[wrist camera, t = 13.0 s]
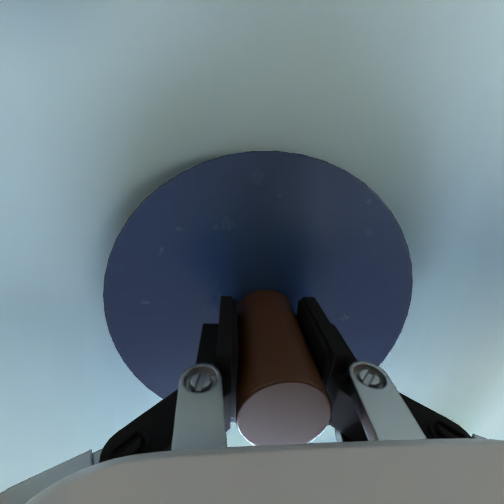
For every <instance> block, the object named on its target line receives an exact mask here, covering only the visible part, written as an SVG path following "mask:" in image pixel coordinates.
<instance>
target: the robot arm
mask: <svg viewBox="0 0 504 504" xmlns="http://www.w3.org/2000/svg"><path fill="white" fill-rule="evenodd" d="M296 317H297V319H298V322H299V324H300V327H301V329H302V332H303V334H304V336H305V339H306V341H307V344H308V346H309V349H310V351H311V353H312V356H313V358H314V361H315V363H316V366H317V368H318V370H319V373H320V375H321V378H322V380H323V383H324V385H325V387H326V390H327V392H328V395H329V397H330V400H331V403H332V416H331V419H330V422H329V424H328V425H331V426H332V427H334V428H335V436H336V440H337V442H332V443H309V444H286V445H265V446H244V447H227V438H226V432H227V431H228V430H229V429H230V419H234V418H235V417H236V386H237V374H238V331H237V301H236V299H232V296H221V301H220V313H219V323H203V326H202V332H201V337H200V343H199V349H198V354H197V360H196V364H194V365H192V366H189V367H188V368H187V369H185V370H184V371H183V373H182V374H181V376H180V379H179V386H178V389H177V390H176V391H174V392H173V393H171V394H170V395H169V396H167V397H166V398H164V399H163V400H162V401H160V402H159V403H157V404H156V405H155V406H153V407H152V408H150V409H149V410H148V411H146V412H145V413H143V414H142V415H140V416H139V417H138V418H136V419H135V420H133V421H132V422H131V423H129V424H128V425H126V426H125V427H124V428H122V429H121V430H119V431H118V432H117V433H116V434H114V435H113V436H112V437H111V438H110V439H109V440H108V442H107V443H106V444H105V446H104V447H103V449H100V450H98V451H96V452H94V453H92V450H89V451H87V452H85V453H83V454H81V455H78V456H76V457H74V458H72V459H70V460H68V461H66V462H63V463H61V464H59V465H57V466H55V467H53V468H51V469H48V470H46V471H44V472H42V473H40V474H38V475H35V476H33V477H31V478H29V479H27V480H25V481H23V482H20V483H18V484H16V485H14V486H12V487H10V488H8V489H6V490H5V491H3V492H1V493H0V504H504V441H503V440H494V439H486V438H483V437H481V436H478V435H475V434H473V435H472V437H471V436H470V435H469V434H468V433H467V432H466V431H465V430H464V429H463V428H461V427H460V426H459V425H458V424H456V423H454V422H453V421H451V420H450V419H448V418H446V417H444V416H442V415H440V414H438V413H436V412H435V411H433V410H431V409H429V408H427V407H425V406H423V405H422V404H420V403H418V402H416V401H414V400H412V399H410V398H408V397H407V396H405V395H403V394H401V393H399V392H398V390H397V389H396V387H395V386H394V384H393V382H392V381H391V379H390V377H389V376H388V375H387V373H386V372H385V371H384V370H382V369H381V368H380V367H378V366H376V365H375V364H372V363H370V362H366V361H357V359H356V358H355V356H354V355H353V353H352V351H351V350H350V348H349V347H348V345H347V344H346V342H345V340H344V339H343V337H342V336H341V334H340V332H339V331H338V329H337V328H336V326H335V325H334V324H331V323H330V321H329V320H328V318H327V316H326V315H325V313H324V311H323V310H322V308H321V307H320V305H319V303H318V302H317V300H316V298H315V297H303V298H302V300H299V301H298V306H297V314H296Z"/></svg>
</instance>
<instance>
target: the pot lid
mask: <svg viewBox="0 0 504 504" xmlns="http://www.w3.org/2000/svg"><path fill="white" fill-rule="evenodd" d="M412 282H413V281H412V264H411V259H410V254H409V250H408V246H407V243H406V240H405V238H404V235H403V232H402V230H401V228H400V226H399V224H398V223H397V221H396V219H395V217H394V216H393V214H392V212H391V211H390V210H389V208H388V207H387V206H386V205H385V203H384V202H383V201H382V200H381V198H380V197H379V196H378V195H377V194H376V193H375V192H373V191H372V190H371V189H370V188H369V187H368V186H367V185H366V184H365V183H363V182H362V181H360V180H359V179H357V178H356V177H354V176H353V175H351V174H350V173H348V172H347V171H345V170H343V169H341V168H339V167H337V166H334V165H332V164H330V163H328V162H326V161H323V160H319V159H316V158H313V157H309V156H306V155H302V154H295V153H288V152H281V151H251V152H244V153H237V154H231V155H226V156H223V157H219V158H216V159H212V160H209V161H206V162H203V163H201V164H199V165H196V166H194V167H192V168H190V169H188V170H185V171H183V172H181V173H180V174H178V175H177V176H175V177H173V178H172V179H170V180H169V181H167V182H166V183H164V184H163V185H161V186H160V187H159V188H158V189H156V190H155V191H154V192H153V193H152V194H151V195H150V196H149V197H147V198H146V199H145V200H144V201H143V202H142V203H141V204H140V206H139V207H138V208H137V209H136V210H135V211H134V213H133V214H132V215H131V216H130V217H129V219H128V220H127V222H126V224H125V225H124V227H123V228H122V230H121V232H120V233H119V235H118V237H117V239H116V241H115V244H114V246H113V249H112V251H111V253H110V256H109V260H108V264H107V268H106V272H105V278H104V292H103V299H104V311H105V317H106V321H107V325H108V329H109V332H110V335H111V337H112V340H113V342H114V345H115V347H116V349H117V351H118V352H119V354H120V356H121V357H122V359H123V361H124V362H125V364H126V365H127V366H128V367H129V369H130V370H131V371H132V373H133V374H134V375H135V376H136V377H137V378H138V379H139V380H140V381H141V382H142V383H143V384H144V385H145V386H146V387H147V388H149V389H150V390H151V391H153V392H154V393H155V394H157V395H158V396H159V397H161V398H162V399H164V398H166V397H167V396H169V395H170V394H171V393H173V392H174V391H176V390H177V389H178V386H179V379H180V376H181V374H182V373H183V371H184V370H185V369H187V368H188V367H189V366H192V365H194V364H196V360H197V354H198V349H199V343H200V337H201V332H202V326H203V323H219V313H220V301H221V296H232V299H236V301H237V331H238V374H237V386H236V417H235V418H234V419H230V422H235V423H236V424H237V427H238V429H239V432H240V433H241V435H242V436H243V437H244V438H245V439H246V440H247V441H248V442H250V443H251V444H253V445H255V446H265V445H286V444H307V443H309V442H310V441H312V440H314V439H315V438H317V437H318V436H319V435H320V434H321V433H322V432H323V431H324V430H325V429H326V427H327V426H328V424H329V422H330V419H331V416H332V403H331V400H330V397H329V395H328V392H327V390H326V387H325V385H324V383H323V380H322V378H321V375H320V373H319V370H318V368H317V366H316V363H315V361H314V358H313V356H312V353H311V351H310V349H309V346H308V344H307V341H306V339H305V336H304V334H303V332H302V329H301V327H300V324H299V322H298V319H297V317H296V314H297V306H298V301H299V300H302V298H303V297H315V298H316V300H317V302H318V303H319V305H320V307H321V308H322V310H323V311H324V313H325V315H326V316H327V318H328V320H329V321H330V323H331V324H334V325H335V326H336V328H337V329H338V331H339V332H340V334H341V336H342V337H343V339H344V340H345V342H346V344H347V345H348V347H349V348H350V350H351V351H352V353H353V355H354V356H355V358H356V359H357V361H366V362H370V363H372V364H375V365H376V366H379V365H380V364H381V363H382V361H383V360H384V359H385V358H386V356H387V355H388V353H389V352H390V350H391V349H392V347H393V346H394V344H395V342H396V340H397V338H398V336H399V335H400V333H401V330H402V328H403V325H404V323H405V320H406V317H407V314H408V310H409V305H410V301H411V293H412Z"/></svg>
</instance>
